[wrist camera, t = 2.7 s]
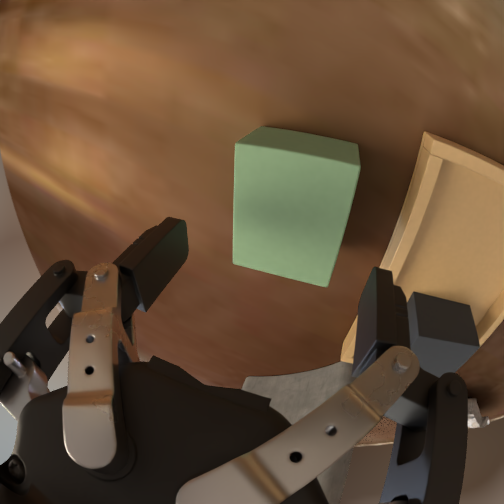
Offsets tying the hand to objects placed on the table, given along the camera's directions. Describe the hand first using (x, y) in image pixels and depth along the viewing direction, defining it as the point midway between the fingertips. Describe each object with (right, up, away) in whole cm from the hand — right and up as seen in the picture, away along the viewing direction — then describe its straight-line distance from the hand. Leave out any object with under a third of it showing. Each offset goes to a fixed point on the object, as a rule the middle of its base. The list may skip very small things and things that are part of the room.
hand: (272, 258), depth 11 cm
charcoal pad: (+13, -6, +7) cm, 16 cm away
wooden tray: (+13, -2, +5) cm, 14 cm away
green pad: (+2, +4, +5) cm, 7 cm away
